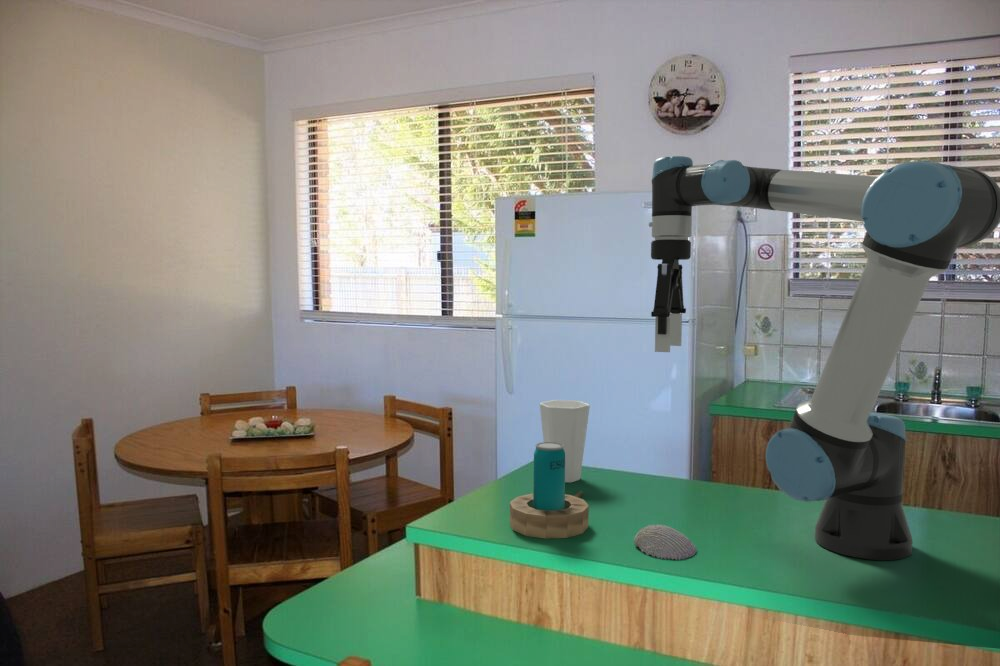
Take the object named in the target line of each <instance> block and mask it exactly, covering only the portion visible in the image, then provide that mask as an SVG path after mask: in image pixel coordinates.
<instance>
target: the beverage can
mask: <svg viewBox="0 0 1000 666" xmlns="http://www.w3.org/2000/svg"><path fill="white" fill-rule="evenodd" d="M563 448H564V445H563V444H560V443H555V442H544V441H543V442H538V443H536V444H535V450H534V452H533V493H534V494H533V508H534V509H537V510H545V511H556V510H563V509H565V494H566V482H565V452H564V449H563Z"/></svg>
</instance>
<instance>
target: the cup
mask: <svg viewBox="0 0 1000 666" xmlns="http://www.w3.org/2000/svg"><path fill="white" fill-rule="evenodd" d="M590 405H591V404H589V403H586V402H584V401H582V400H571V399H569V400H568V399H551V400H547V401H541V402H540V403H539V409H540V420H541V429H542V439H543V442H555V443H560V444H563V445H564V448H563V449H564V452H565V483H573V482H577V481H580V480H581V475H582V468H583V462H584V461H583V460H584V452H585V444H586V438H587V430H588V429H587V428H588V422H589V421H588V420H589V414H590Z"/></svg>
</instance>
